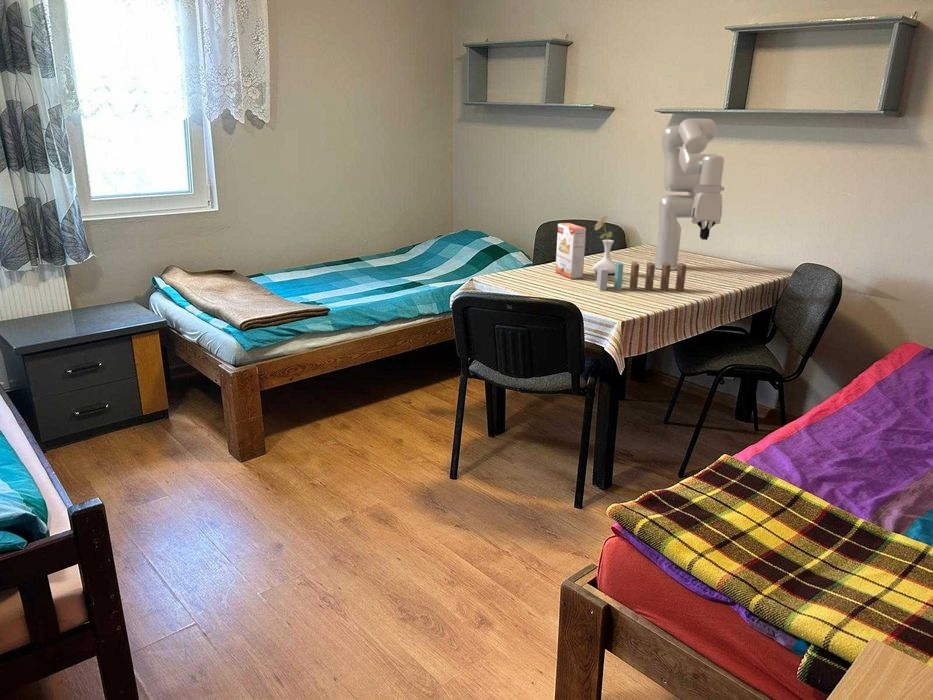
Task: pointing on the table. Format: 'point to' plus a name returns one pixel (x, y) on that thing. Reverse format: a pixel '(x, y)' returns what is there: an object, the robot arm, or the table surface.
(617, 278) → the teal block
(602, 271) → the end block
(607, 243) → the flower in vase
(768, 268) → the table surface
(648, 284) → the tile
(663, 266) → the tile
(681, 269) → the brown wooden block
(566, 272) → the cracker box
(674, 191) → the robot arm
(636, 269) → the brown wooden block
